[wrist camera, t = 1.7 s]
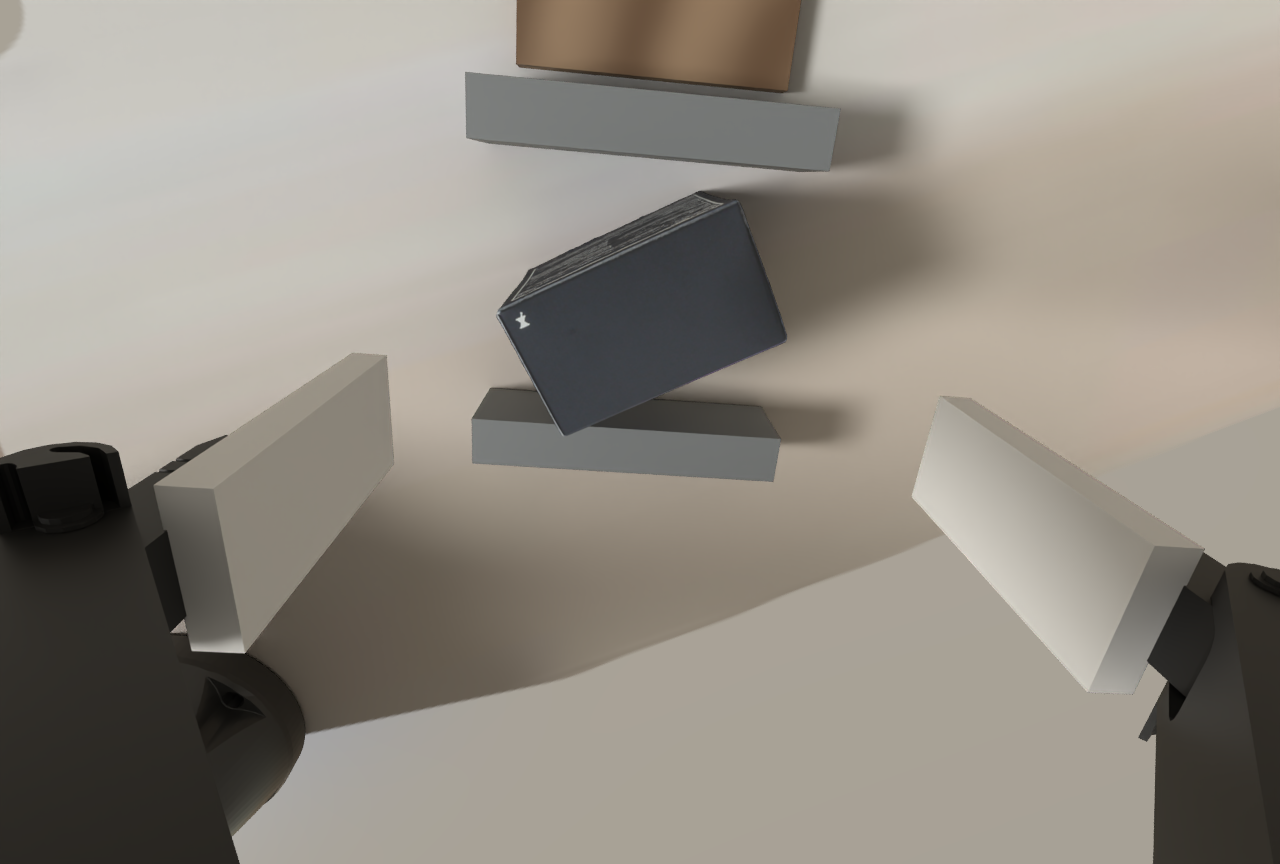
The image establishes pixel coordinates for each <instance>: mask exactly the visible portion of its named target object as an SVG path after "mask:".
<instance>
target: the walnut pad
mask: <svg viewBox="0 0 1280 864" xmlns="http://www.w3.org/2000/svg"><path fill="white" fill-rule="evenodd" d="M800 5H801V0H517V34H516V64H517V65H518V66H519V67H521V68H531V69H542V70H552V71H562V72H572V73H582V74H592V75H602V76H612V77H623V78H633V79H643V80H653V81H663V82H673V83H683V84H693V85H704V86H714V87H724V88H734V89H744V90H754V91H764V92H774V93H784V92H786V91H788V84H789V78H790V71H791V65H792V58H793V51H794V45H795V38H796V31H797V25H798V18H799V12H800Z"/></svg>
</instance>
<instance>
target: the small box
mask: <svg viewBox="0 0 1280 864" xmlns="http://www.w3.org/2000/svg"><path fill="white" fill-rule="evenodd" d="M496 316H497V319H498V320H499V322H500V324H501V325H502V327H503V329H504V331H505V333H506V334H507V336H508V338H509V340H510V342H511V343H512V345H513V347H514V349H515V351H516V353H517V355H518V357H519V359H520V360H521V362H522V364H523V366H524V368H525V369H526V371H527V373H528V375H529V376H530V378H531V380H532V382H533V384H534V386H535V388H536V390H537V392H538V393H539V395H540V397H541V399H542V401H543V403H544V404H545V406H546V408H547V410H548V412H549V414H550V416H551V418H552V419H553V421H554V423H555V425H556V427H557V428H558V430H559V432H560V434H561V435H562V436H568V435H571V434H573V433H575V432H577V431H580V430H582V429H584V428H587V427H589V426H591V425H594V424H596V423H598V422H600V421H603V420H605V419H607V418H609V417H612V416H614V415H616V414H619V413H621V412H623V411H625V410H628V409H630V408H632V407H635V406H637V405H639V404H642V403H644V402H646V401H649V400H651V399H653V398H655V397H658V396H660V395H662V394H665V393H667V392H669V391H672V390H674V389H676V388H679V387H681V386H683V385H686V384H688V383H690V382H693V381H695V380H697V379H700V378H702V377H704V376H707V375H709V374H711V373H714V372H716V371H718V370H721V369H723V368H725V367H728V366H730V365H732V364H735V363H737V362H740V361H742V360H744V359H747V358H749V357H752V356H754V355H756V354H759V353H761V352H763V351H766V350H768V349H771V348H773V347H775V346H778V345H780V344H782V343H784V342H786V341H787V334H786V331H785V328H784V324H783V321H782V318H781V315H780V312H779V309H778V306H777V303H776V301H775V298H774V295H773V292H772V289H771V286H770V283H769V280H768V278H767V275H766V272H765V270H764V267H763V264H762V261H761V258H760V256H759V253H758V250H757V247H756V244H755V242H754V239H753V236H752V234H751V231H750V228H749V225H748V223H747V220H746V217H745V214H744V211H743V208H742V206H741V204H740V202H739V201H738V200H735V199H732V200H725V199H721V198H718V197H715V196H712V195H709V194H706V193H704V192H702V191H698V192H696V193H694V194H692V195H690V196H688V197H685V198H683V199H680V200H678V201H676V202H674V203H672V204H670V205H668V206H665V207H663V208H661V209H659V210H657V211H655V212H653V213H650V214H648V215H646V216H642V217H640V218H639V219H637V220H635V221H633V222H631V223H629V224H626V225H624V226H622V227H620V228H618V229H616V230H614V231H611V232H609V233H607V234H605V235H603V236H600V237H597V238H594V239H593V240H591V241H589V242H587V243H584V244H583V245H581V246H579V247H576V248H574V249H572V250H569V251H567V252H565V253H564V254H561V255H559V256H557V257H556V258H554V259H551V260H549V261H547V262H545V263H543V264H541V265H539V266H537V267H535V268H532V269H530V270H528V272H527V274H526V275H525V277H524V278H523V280H522V281H521V283H520V284H519V285H518V287H517V288H516V289H515V290H514V291H513V292H512V294H511V295H510V296H509V297H508V299H507V300H506V301H505V302H504V304H503V305H502V306H501V308H500V309H499V310H498V312H497V315H496Z"/></svg>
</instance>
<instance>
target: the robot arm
mask: <svg viewBox="0 0 1280 864" xmlns="http://www.w3.org/2000/svg"><path fill="white" fill-rule="evenodd" d="M393 465H394V454H393V440H392V425H391V411H390V397H389V382H388V368H387V355H375V354H362V353H352V354H350V355H349V356H347V357H346V358H344V359H343V360H341V361H340V362H338V363H337V364H335V365H334V366H332V367H331V368H329V369H328V370H326V371H324V372H323V373H321V374H320V375H318V376H317V377H315V378H314V379H312V380H311V381H309V382H308V383H306V384H305V385H303V386H302V387H300V388H299V389H297V390H296V391H294V392H293V393H291V394H290V395H288V396H287V397H285V398H284V399H282V400H281V401H279V402H278V403H276V404H275V405H273V406H272V407H270V408H269V409H267V410H266V411H264V412H263V413H261V414H260V415H258V416H257V417H255V418H254V419H252V420H251V421H249V422H248V423H246V424H245V425H243V426H242V427H240V428H239V429H237V430H236V431H234V432H233V433H231V434H230V435H225V436H222V437H219V438H216V439H214V440H211V441H208V442H205V443H202V444H200V445H197V446H195V447H194V448H192V449H191V450H189V451H187V452H186V453H184V454H183V455H181V456H180V457H178V458H177V459H176V461H172V462H170V463H169V464H167V465H166V466H164V467H162V468H161V469H159V472H155V473H153V474H151V475H150V476H148V477H147V478H145V479H144V480H142V481H141V482H139V483H137V484H136V485H134V486H133V487H131V488H130V489H128V488H127V484H126V480H125V476H124V472H123V468H122V464H121V460H120V456H119V452H118V451H117V450H116V449H115V448H113V447H112V446H110V445H105V444H101V443H93V442H72V443H62V444H52V445H46V446H41V447H36V448H32V449H27V450H23V451H20V452H17V453H14V454H11V455H7V456H4V457H2V458H0V864H240V863H239V860H238V856H237V853H236V850H235V847H234V843H233V840H232V836H233V835H234V834H235V833H236V832H237V831H238V830H239V829H240V828H241V827H242V826H243V825H244V824H245V823H246V822H247V821H248V820H249V819H250V818H251V817H252V816H253V815H254V814H255V813H256V812H257V811H258V810H259V809H260V808H261V807H262V805H264V804H265V803H266V802H268V801H269V800H270V799H271V798H272V797H273V796H274V795H275V794H276V793H277V792H278V791H279V789H280V788H281V787H282V785H283V784H284V783H285V781H286V779H287V777H288V775H289V774H290V772H291V770H292V768H293V767H294V765H295V763H296V761H297V759H298V758H299V756H300V754H301V751H302V748H303V745H304V740H305V725H304V720H303V716H302V713H301V710H300V708H299V705H298V703H297V702H296V700H295V698H294V696H293V695H292V693H291V692H290V691H289V689H288V688H287V687H286V686H285V684H284V683H283V682H282V681H281V680H280V679H279V678H278V677H277V676H276V675H275V674H274V673H272V672H271V671H270V670H269V669H267V668H266V667H265V666H263V665H262V664H261V663H259V662H258V661H256V660H254V659H253V658H251V657H249V656H248V655H246V654H244V653H246V652H247V650H248V649H249V648H250V646H251V645H252V644H253V643H254V641H255V640H256V639H257V638H258V636H259V635H260V634H261V632H262V631H263V630H264V629H265V627H266V626H267V625H268V624H269V622H270V621H271V620H272V618H273V617H274V616H275V615H276V613H277V612H278V611H279V610H280V608H281V607H282V606H283V604H284V603H285V602H286V601H287V599H288V598H289V597H290V596H291V594H292V593H293V592H294V590H295V589H296V588H297V587H298V585H299V584H300V583H301V582H302V580H303V579H304V578H305V576H306V575H307V574H308V573H309V571H310V570H311V569H312V568H313V566H314V565H315V564H316V562H317V561H318V560H319V559H320V557H321V556H322V555H323V554H324V552H325V551H326V550H327V548H328V547H329V546H330V545H331V543H332V542H333V541H334V540H335V538H336V537H337V536H338V534H339V533H340V532H341V531H342V529H343V528H344V527H345V526H346V524H347V523H348V522H349V521H350V519H351V518H352V517H353V515H354V514H355V513H356V512H357V510H358V509H359V508H360V507H361V505H362V504H363V503H364V501H365V500H366V499H367V498H368V496H369V495H370V494H371V493H372V491H373V490H374V489H375V487H376V486H377V485H378V484H379V482H380V481H381V480H382V479H383V477H384V476H385V475H386V473H387V472H388V471H389V470H390V468H391V467H392V466H393ZM912 498H913V499H914V500H915V501H916V502H917V503H918V504H919V505H920V507H921V508H922V509H923V510H924V511H925V512H926V513H927V514H928V515H929V517H930V518H931V519H932V520H933V521H934V522H935V523H936V524H937V525H938V527H939V528H940V529H941V530H942V531H943V532H944V533H945V534H946V535H947V537H948V538H949V539H950V540H951V541H952V542H953V543H954V544H955V545H956V546H957V548H958V549H959V550H960V551H961V552H962V553H963V554H964V555H965V557H966V558H967V559H968V560H969V561H970V562H971V563H972V564H973V565H974V567H975V568H976V569H977V570H978V571H979V572H980V573H981V574H982V576H983V577H984V578H985V579H986V580H987V581H988V582H989V583H990V584H991V586H992V587H993V588H994V589H995V590H996V591H997V592H998V593H999V594H1000V596H1001V597H1002V598H1003V599H1004V600H1005V601H1006V602H1007V603H1008V604H1009V606H1010V607H1011V608H1012V609H1013V610H1014V611H1015V612H1016V613H1017V614H1018V616H1020V618H1021V619H1022V620H1023V621H1024V622H1025V623H1026V624H1027V626H1028V627H1029V628H1030V629H1031V630H1032V631H1033V632H1034V633H1035V634H1036V636H1037V637H1038V638H1039V639H1040V640H1041V641H1042V642H1043V643H1044V644H1045V645H1046V647H1047V648H1048V649H1049V650H1050V651H1051V652H1052V653H1053V654H1054V656H1056V658H1057V659H1058V660H1059V661H1060V662H1061V663H1062V665H1063V666H1064V667H1065V668H1066V669H1067V670H1068V671H1069V672H1070V673H1071V674H1072V676H1073V677H1074V678H1075V679H1076V680H1077V681H1078V682H1079V683H1080V684H1081V685H1082V687H1083V688H1084V689H1085V690H1086V691H1087V692H1089V693H1090V692H1091V693H1112V694H1133V693H1134V691H1135V689H1136V687H1137V685H1138V683H1139V681H1140V679H1141V677H1142V675H1143V673H1144V671H1145V669H1146V667H1147V665H1148V663H1149V664H1150V665H1152V666H1153V667H1154V668H1155V669H1156V670H1157V671H1158V672H1159V673H1160V674H1161V675H1162V676H1163V677H1165V678H1166V679H1167V680H1168V681H1167V683H1166V685H1165V687H1164V689H1163V691H1162V693H1161V695H1160V697H1159V698H1158V700H1157V702H1156V704H1155V706H1154V708H1153V710H1152V712H1151V714H1150V716H1149V718H1148V720H1147V722H1146V724H1145V726H1144V728H1143V730H1142V731H1141V733H1140V735H1139V738H1140V739H1142V740H1145V741H1148V739H1149V738H1150V736H1151V735H1155V734H1156V767H1155V809H1154V810H1155V811H1154V852H1153V855H1154V856H1153V864H1280V570H1279V569H1274V568H1268V567H1264V566H1260V565H1256V564H1248V563H1233V564H1228V565H1227V567H1225V566H1223V565H1222V564H1221V563H1219V562H1218V561H1216V560H1215V559H1213V558H1211V557H1210V556H1208V555H1207V554H1205V553H1204V552H1203V551H1204V550H1205V549H1204V548H1203V547H1201V546H1200V545H1198V544H1197V543H1195V542H1193V541H1192V540H1190V539H1189V538H1187V537H1185V536H1184V535H1183V534H1181V533H1180V532H1178V531H1176V530H1175V529H1173V528H1172V527H1170V526H1169V525H1167V524H1166V523H1164V522H1162V521H1161V520H1159V519H1158V518H1156V517H1155V516H1153V515H1152V514H1150V513H1148V512H1147V511H1145V510H1144V509H1142V508H1141V507H1139V506H1138V505H1136V504H1134V503H1133V502H1131V501H1130V500H1128V499H1127V498H1125V497H1124V496H1122V495H1120V494H1119V493H1117V492H1116V491H1114V490H1113V489H1111V488H1109V487H1108V486H1106V485H1105V484H1103V483H1102V482H1100V481H1099V480H1097V479H1095V478H1094V477H1092V476H1091V475H1089V474H1088V473H1086V472H1085V471H1083V470H1081V469H1080V468H1078V467H1077V466H1075V465H1074V464H1072V463H1071V462H1069V461H1067V460H1066V459H1064V458H1063V457H1061V456H1060V455H1058V454H1057V453H1055V452H1053V451H1052V450H1050V449H1049V448H1047V447H1046V446H1044V445H1043V444H1041V443H1039V442H1038V441H1036V440H1035V439H1033V438H1032V437H1030V436H1029V435H1027V434H1025V433H1024V432H1022V431H1021V430H1019V429H1018V428H1016V427H1015V426H1013V425H1011V424H1010V423H1008V422H1007V421H1005V420H1004V419H1002V418H1001V417H999V416H997V415H996V414H994V413H993V412H991V411H990V410H988V409H986V408H985V407H983V406H982V405H980V404H979V403H977V402H976V401H974V400H972V399H971V398H962V397H949V396H939V400H938V404H937V407H936V411H935V414H934V418H933V422H932V425H931V429H930V432H929V436H928V439H927V443H926V447H925V450H924V454H923V457H922V461H921V465H920V468H919V472H918V475H917V479H916V483H915V486H914V490H913V493H912ZM183 619H184V620H185V624H186V629H187V633H188V636H178V635H171V634H170V632H171V631H172V630H173V629H174V628H175V627H176V626H177V625H178V624H179V623H180V622H181V621H182V620H183Z"/></svg>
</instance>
